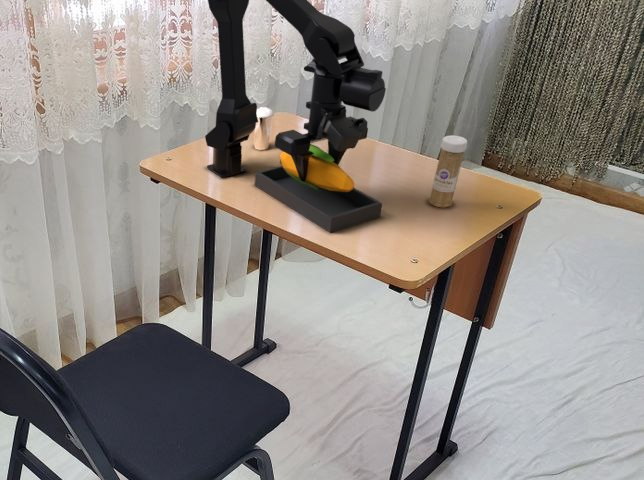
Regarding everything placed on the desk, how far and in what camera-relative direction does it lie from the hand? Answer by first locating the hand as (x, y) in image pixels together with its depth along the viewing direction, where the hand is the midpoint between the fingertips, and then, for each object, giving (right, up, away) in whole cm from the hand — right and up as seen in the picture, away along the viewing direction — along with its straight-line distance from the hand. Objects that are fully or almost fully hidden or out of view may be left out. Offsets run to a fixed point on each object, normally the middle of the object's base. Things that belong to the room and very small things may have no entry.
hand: (317, 177), depth 146 cm
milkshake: (-9, +13, +26) cm, 30 cm away
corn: (0, -2, +1) cm, 2 cm away
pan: (0, -4, +3) cm, 5 cm away
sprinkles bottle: (+25, -5, +2) cm, 26 cm away
